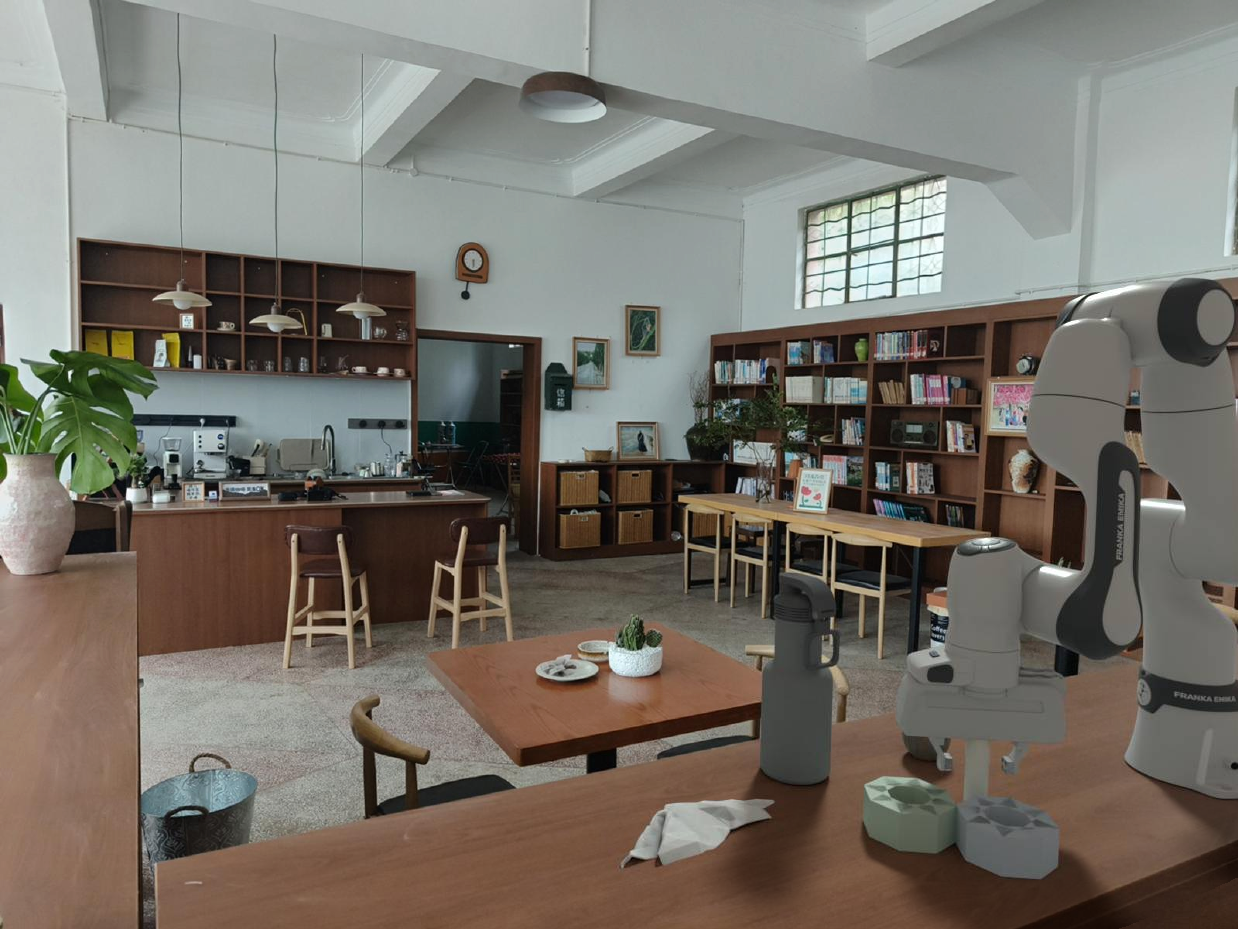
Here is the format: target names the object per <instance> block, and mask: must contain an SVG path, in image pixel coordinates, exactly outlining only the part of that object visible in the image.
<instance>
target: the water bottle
mask: <svg viewBox="0 0 1238 929" xmlns="http://www.w3.org/2000/svg"><path fill="white" fill-rule="evenodd" d="M778 582H779V584H780V593H778V594H776V595H775V596H774V598H773V602H774V610H773V611H774V613H773V616H772V617H773V619H774V621H775V622H774V648H773V649H774V650H773V651H774V655H773V658H772V659H770V660H769V661H767V662H766V663H765V666H764V667H763V668H762V673H761V706H760V707H761V708H760V710H761V711H760V713H761V714H760V748H759V750H760V752H759V753H760V754H759V765H760V768H761V770H762V771H763V773H764V774H765V775H766V776H768V777H769V778H771V779H773V780H775V781H777V782H781V783H784V784H787V785H796V786H807V785H808V786H809V785H815V784H818V783H820V782H823V781H824V780H826V779H827V778H828V776H829V775H830V772H831V760H832V754H831V753H832V731H833V730H832V727H833V724H832V723H833V722H832V721H833V697H834V696H833V691H834V688H833V687H834V676H833V673H832V671H831V669H830V668H832V667H835V666H836V665H837V664H838V662H839V659H840V642H841V641H840V639H841V638H840V632H839V631H838V630H836V629H833V628H831V618H835V617H836V616H837V615H836V614H837V602H836V599H835V596H834V594H833V591H832V590H831V588H830V586H829V585H828V584H827V582H825V581H824V580H822V579H820V578H819V577H816V576H811V575H809V574H803V573H802V572H801V573H799V572H793V571H792V572H788V571H787V572H786V571H785V572H784V571H783V572H779V574H778ZM828 635H831V636H832V640H833V642H832V646H833V647H832V657H831V659H829V661H827V662H823V660H822V658H823V657H822V656H823V654H822V653H823V636H828Z"/></svg>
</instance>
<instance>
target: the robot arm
mask: <svg viewBox="0 0 1238 929" xmlns="http://www.w3.org/2000/svg"><path fill="white" fill-rule="evenodd" d="M1236 307H1237V306H1236V303H1235V301H1234V299H1233V297H1232V295H1231V294H1230V292H1229V291H1228V290H1227V289H1226V288H1225V287H1224V286H1223V285H1222V283H1220V282H1219V281H1217V280H1214V279H1211V278H1202V277H1183V278H1179V279H1177V280H1155V281H1147V282H1146V281H1145V282H1137V283H1133V284H1130V285H1127V286H1122V287H1117V288H1113V289H1109V290H1105V291H1102V292H1099V291H1098V292H1097V291H1095V292H1090V293H1087V294H1084V295H1081V296H1079V297H1077V298H1074V299H1072V300H1071V301H1068V303H1067V304H1066V305H1065V306H1064V307H1063V308H1062V310H1061V311H1060V313H1059V314H1058V316H1057V319H1056V321H1055V324H1054V325H1055V326H1054V329H1053V330H1054V331H1053V333H1052V334H1051V335H1050V338H1049V340H1048V342H1047V345H1046V347H1045V349H1044V351H1043V355H1042V357H1041V359H1040V363H1039V366H1038V369H1037V372H1036V374H1035V375H1036V376H1035V379H1034V382H1033V387H1032V391H1031V395H1030V399H1029V405H1028V408H1027V415H1026V423H1025V430H1026V431H1025V432H1026V440H1027V442H1028V444H1029V446H1030V448H1031V449H1032V452H1034V454H1035V455H1036V456H1037V457H1038V458H1039V460H1040V461H1042V462H1043V463H1044V464H1045V465H1047V467H1049V468H1051V469H1053V470H1054V471H1056V472H1057V473H1060V474H1061V475H1062V476H1065V477H1066V478H1068V479H1069V480H1071V481H1072V482H1073V483H1074V485H1076V486H1077V487H1078V489H1080V491H1081V493H1082V495H1083V498H1084V500H1085V505H1086V522H1085V524H1086V525H1085V542H1084V543H1085V545H1084V546H1085V547H1084V564H1083V567H1082V569H1081V570H1077V569H1072V568H1067V567H1064V566H1059V565H1057V564H1053V563H1052V564H1051V563H1048V562H1045V561H1044V560H1043V561H1042V560H1040V559H1038V558H1035V557H1034V556H1032V555H1029V554H1028V553H1026V552H1025V551H1023V550H1022V549H1021V548H1020V547H1019V544H1018V543H1017V542H1016V541H1014V540H1012V539H1010V538H1005V537H998V536H997V537H996V536H992V537H991V536H990V537H976V538H971V539H967V540H965V541H963V542H961V543H960V544H958V545H957V546H956V547H955V549H954V551H953V553H952V556H951V559H950V562H949V568H948V574H947V583H946V584H947V585H946V601H945V602H946V604H945V605H946V610H947V615H948V626H947V629H946V632H945V634H944V635H945V636H944V643H943V644H940V645H937V646H933V647H930V648H925V649H922V650H918V651H914V652H911V653H909V654H908V655H907V656H906V667H907V670H908V671H909V672H907V673H906V674H905V675H904V676H903V678H902V679H901V681H900V684H899V687H898V692H897V698H896V708H895V722H896V725H897V726H898V727H899V729H900V731H901V732H902V731H903V733H904V734H905V735H907V736H922V737H929V740H930V742H931V744H932V745H933V747H934V749H935V751H936V753H937V760H936V766H937V769H938V770H939V771H944V772H945V771H947V772H948V771H949V772H950V771H953V766H952V765H953V761H954V760H953V759H954V758H953V757H952V756H951V754H950V753H948V752H946V753H943V751H942V749H941V748H940V746H939V744H940V745H944V738H951V739H959V740H964V739H965V740H966V739H976V740H990V741H994V742H995V741H998V742H1011V743H1012V744H1013V748H1012V750H1011V752H1010V753H1009V754H1008V756H1004V755H1001V762H1002V763H1001V770H1002V772H1003V773H1004V774H1005V775H1011V776H1012V775H1014V776H1017V775H1019V763H1021V761H1022V760H1023V758H1024V757H1025V756H1026V755H1027V754H1028V752H1029V751H1030V750H1029V749H1030V743H1032V744H1034V743H1035V744H1051V745H1052V744H1053V745H1059V744H1060V743H1061V742H1062V741H1063V740H1065V738H1066V734H1067V729H1066V728H1067V725H1066V724H1067V723H1066V713H1065V705H1064V700H1065V699H1066V696H1067V681H1066V678H1065V677H1064V676H1063V675H1062V674H1061V673H1059V672H1056V671H1055V669H1053V668H1049V667H1042V668H1037V667H1031V666H1030V667H1029V666H1027V667H1026V666H1020V665H1021V664H1020V663H1021V662H1020V661H1021V660H1020V659H1021V641H1020V636H1021V635H1023V634H1027V635H1030V636H1032V637H1035V638H1036V639H1040V640H1042V641H1045V642H1046V641H1047V642H1049V643H1052V644H1055V645H1058V646H1061V647H1064V648H1066V649H1067V650H1069V651H1071V652H1074V653H1076V654H1078V655H1080V656H1083V657H1085V658H1088V659H1090V660H1092V661H1104V660H1108V659H1110V658H1113V657H1115V656H1118V655H1120V654H1122V653H1123V652H1124V651H1126V650H1128V649H1129V648H1130V647H1131V646H1133V644H1134V643H1135V642H1136V641H1137V640H1138V638H1139V637H1140V635H1141V632H1143V638H1142V639H1143V644H1142V646H1143V647H1142V648H1143V649H1142V652H1143V653H1142V664H1141V665H1140V666H1138V676H1137V677H1138V678H1137V688H1136V697H1137V705H1138V710H1137V715H1136V719H1135V720H1136V721H1135V725H1134V728H1133V731H1132V732H1133V733H1132V736H1131V739H1130V742H1129V744H1128V747H1127V749H1126V752H1125V753H1124V760H1125V761H1126V763H1127V764H1128V765H1130V767H1132V768H1134V769H1135V770H1136V771H1139V772H1141V773H1142V774H1145V775H1147V776H1149V777H1150V778H1151V777H1152V778H1154V779H1156V780H1159V781H1163V782H1166V783H1169V784H1172V785H1176V786H1181V787H1184V788H1188V789H1190V790H1191V789H1192V790H1193V791H1196V792H1199V793H1201V794H1204V795H1207V796H1210V797H1213V798H1217V799H1222V800H1223V799H1226V800H1227V799H1231V800H1232V799H1238V679H1237V678H1236V674H1237V661H1238V660H1237V659H1238V658H1237V656H1238V629H1237V626H1236V625H1235V622H1234V621H1233V619H1232V618H1231V617H1230V616H1229V615H1228V614H1227V613H1226V612H1224V611H1223V610H1221V609H1220V608H1218V607H1217V606H1216V605H1215V604H1214V603H1213V602H1212V601H1211V600H1210V598H1209V597H1208V595H1207V594H1206V592H1205V590H1204V588H1203V585H1202V581H1203V582H1209V583H1215V584H1220V585H1224V586H1225V585H1226V586H1231V587H1237V588H1238V415H1237V400H1236V389H1235V380H1234V374H1233V370H1232V365H1231V361H1230V357H1229V353H1228V350H1227V346H1228V344H1229V343H1230V341H1231V339H1232V337H1233V336H1234V333H1235V329H1236V324H1237V316H1238V315H1237V313H1238V312H1237V308H1236ZM1132 368H1139V370H1140V382H1139V409H1140V422H1141V437H1142V439H1141V440H1142V452H1143V458H1144V461H1145V464H1146V465H1147V467H1148V468H1150V469H1149V470H1151V471H1153V473H1155V474H1156V475H1158V476H1160V477H1162V478H1163V479H1165V480H1166V481H1167V482H1168V483H1170V485H1171V486H1172V487H1173V488H1174V489H1175V491H1176V492H1177V493H1178V495H1179V496H1180V498H1181V500H1178V499H1167V498H1157V497H1149V498H1147V497H1146V498H1142V480H1141V476H1142V475H1141V468H1140V463H1139V459H1138V458H1137V455H1136V454H1135V452H1134V451H1133V450H1132V449H1131V448H1130V447H1128V444H1127V439H1126V434H1125V414H1126V409H1127V404H1128V397H1129V390H1130V381H1131V369H1132ZM1142 629H1143V631H1142Z"/></svg>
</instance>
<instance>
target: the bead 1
mask: <svg viewBox="0 0 1238 929" xmlns="http://www.w3.org/2000/svg"><path fill="white" fill-rule="evenodd" d="M862 798H863V799H862V821H863V824H864V827H865V830H866V832H867V836H868V837H869V838H872V839H873V840H875V841H878V842H880V843H882V844H884V845H886V846H888V847H890V848H893V849H895V850H896V851H899V852H906V853H907V852H909V853H922V854H935V855H936V854H938V853H940V852H942V851H943V850H945V849H947V848H949V847H951V846H952V845H953V844H956V843H955V841H956V816H957V805H958V804H957V803H956V802H955V800H954V799H953V798H952V795H951V794H950V792H949V791H948V789H945V788H942V787H940V786H939V785H938V786H937V785H935V784H932V783H929V782H927V781H925V780H922V779H921V778H917V777H901V776H880V777H878V778H877V779H874V780H871V781H870V782H868V783H865V784H864V785H863V797H862Z"/></svg>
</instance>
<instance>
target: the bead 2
mask: <svg viewBox="0 0 1238 929" xmlns="http://www.w3.org/2000/svg"><path fill="white" fill-rule="evenodd" d="M956 805H957V816H956V841H955V843H954V844H956V846H957V848H958V850H959V851H960V853H961V855H962V857H963V859H964V860H965V861H966V862H968V863H970V864H973V865H974V866H977V867H980V868H982V869H984V870H986V871H988V872H990V873H993V874H995V875H997V876H999V877H1003V878H1015V879H1017V878H1019V879H1027V880H1031V879H1033V880H1042V879H1043V878H1045V877H1046V876H1048V875H1049V874H1050V873H1052V872H1053V871H1055V870H1056V869H1057V868H1058V867H1059V850H1060V832H1061V831H1060V830H1061V829H1060V827H1059V825H1057V823H1056V822H1055V821H1054V820H1053V819H1052V817H1051V816H1050V815H1049V814H1048V812H1046V810H1044V809H1041V808H1039V807H1036V806H1033V805H1030V804H1027V803H1025V802H1023V801H1019V800H1017V799H1015V798H1012V797H1005V796H1004V797H1003V796H973V797H971V798H969V799H967V800H965V801H964V800H963V801H962V802H959V803H958V804H956Z"/></svg>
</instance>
